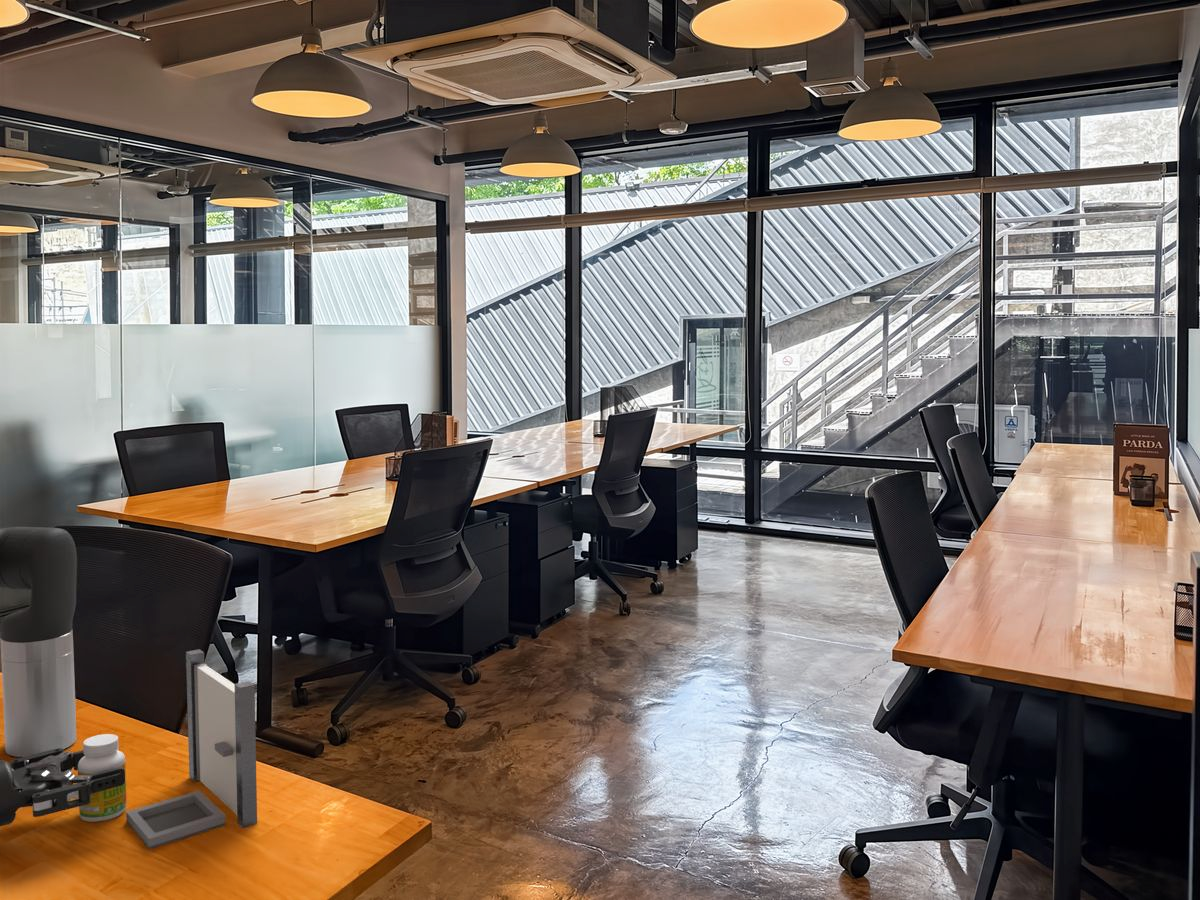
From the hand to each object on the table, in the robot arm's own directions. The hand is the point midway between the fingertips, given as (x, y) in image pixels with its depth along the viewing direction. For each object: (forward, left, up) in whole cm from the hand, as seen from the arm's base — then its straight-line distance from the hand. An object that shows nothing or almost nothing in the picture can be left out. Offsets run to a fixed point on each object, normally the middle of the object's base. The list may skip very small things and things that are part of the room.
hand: (114, 764), depth 120 cm
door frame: (+7, +11, -6) cm, 14 cm away
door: (+6, +11, -5) cm, 13 cm away
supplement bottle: (0, -2, -6) cm, 6 cm away
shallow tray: (+9, +4, -6) cm, 12 cm away
